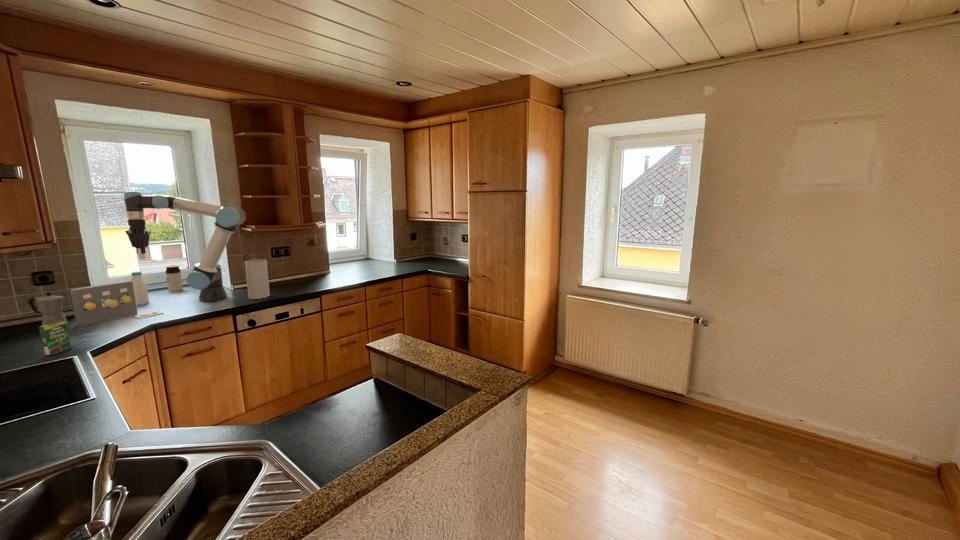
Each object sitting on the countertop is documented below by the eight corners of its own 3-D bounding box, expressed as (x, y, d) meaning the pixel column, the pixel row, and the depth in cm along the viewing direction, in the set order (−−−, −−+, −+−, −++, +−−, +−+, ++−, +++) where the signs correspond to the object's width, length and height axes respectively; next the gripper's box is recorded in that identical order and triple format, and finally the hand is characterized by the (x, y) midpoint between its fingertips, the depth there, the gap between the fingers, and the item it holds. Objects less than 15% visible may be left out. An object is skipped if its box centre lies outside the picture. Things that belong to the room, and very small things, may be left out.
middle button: (118, 306, 204) (117, 299, 203) (109, 308, 201) (108, 300, 200) (111, 304, 207) (110, 297, 206) (102, 306, 204) (100, 299, 203)
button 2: (132, 302, 213) (130, 295, 212) (123, 303, 209) (121, 296, 208) (125, 300, 215) (123, 293, 215) (116, 302, 212) (114, 295, 211)
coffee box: (49, 356, 160) (43, 326, 158) (44, 356, 161) (37, 326, 158) (72, 349, 168) (67, 320, 165) (67, 348, 168) (61, 320, 166)
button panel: (137, 314, 217) (132, 281, 213) (80, 326, 196) (73, 290, 192) (133, 313, 219) (128, 280, 215) (76, 325, 197) (69, 289, 194)
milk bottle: (152, 302, 241) (148, 271, 237) (140, 305, 233) (135, 273, 230) (141, 301, 242) (136, 270, 238) (129, 305, 234) (124, 273, 230)
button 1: (96, 309, 199) (95, 301, 198) (86, 311, 196) (85, 303, 195) (89, 307, 202) (88, 299, 201) (79, 309, 198) (78, 301, 198)
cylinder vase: (261, 300, 249) (257, 262, 244) (243, 299, 251) (240, 261, 246) (274, 295, 261) (271, 259, 256) (257, 294, 263) (254, 258, 258)
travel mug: (182, 289, 275) (179, 264, 272) (183, 291, 269) (179, 266, 266) (168, 290, 270) (164, 265, 267) (168, 292, 264) (165, 267, 261)
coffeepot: (78, 322, 202) (71, 289, 198) (64, 328, 193) (57, 293, 189) (41, 324, 198) (34, 290, 194) (25, 330, 189) (17, 295, 186)
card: (163, 313, 219) (163, 312, 219) (140, 318, 209) (139, 317, 209) (157, 312, 221) (157, 310, 221) (134, 317, 212) (133, 316, 211)
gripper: (118, 218, 217) (125, 259, 222) (142, 219, 217) (148, 260, 222) (130, 218, 225) (136, 257, 229) (153, 218, 225) (158, 258, 229)
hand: (142, 259), depth 225 cm, fingers closed
